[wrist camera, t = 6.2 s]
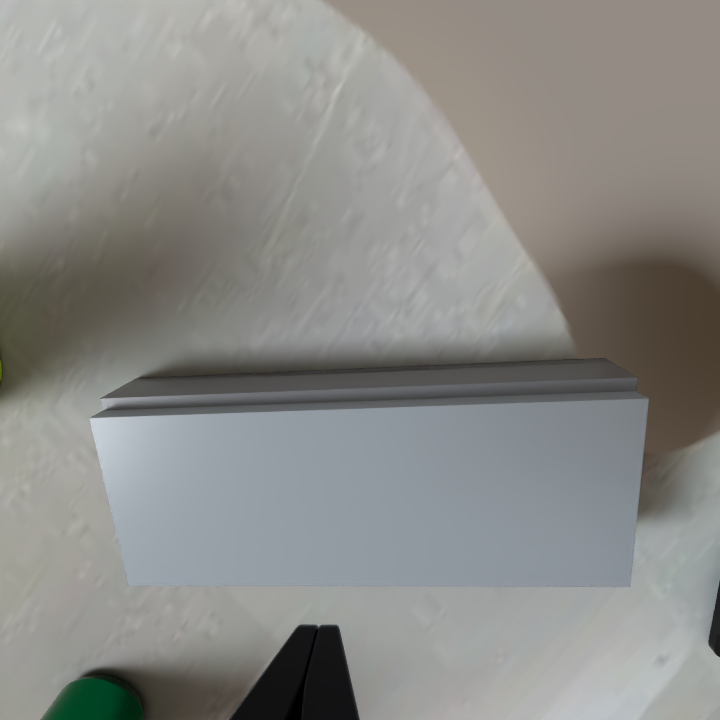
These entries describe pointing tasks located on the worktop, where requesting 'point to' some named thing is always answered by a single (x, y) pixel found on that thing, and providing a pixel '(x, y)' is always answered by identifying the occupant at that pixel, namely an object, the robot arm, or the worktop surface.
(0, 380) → the soap dispenser
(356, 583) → the cover
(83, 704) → the soda can
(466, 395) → the grey rectangular tray
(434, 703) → the worktop surface
